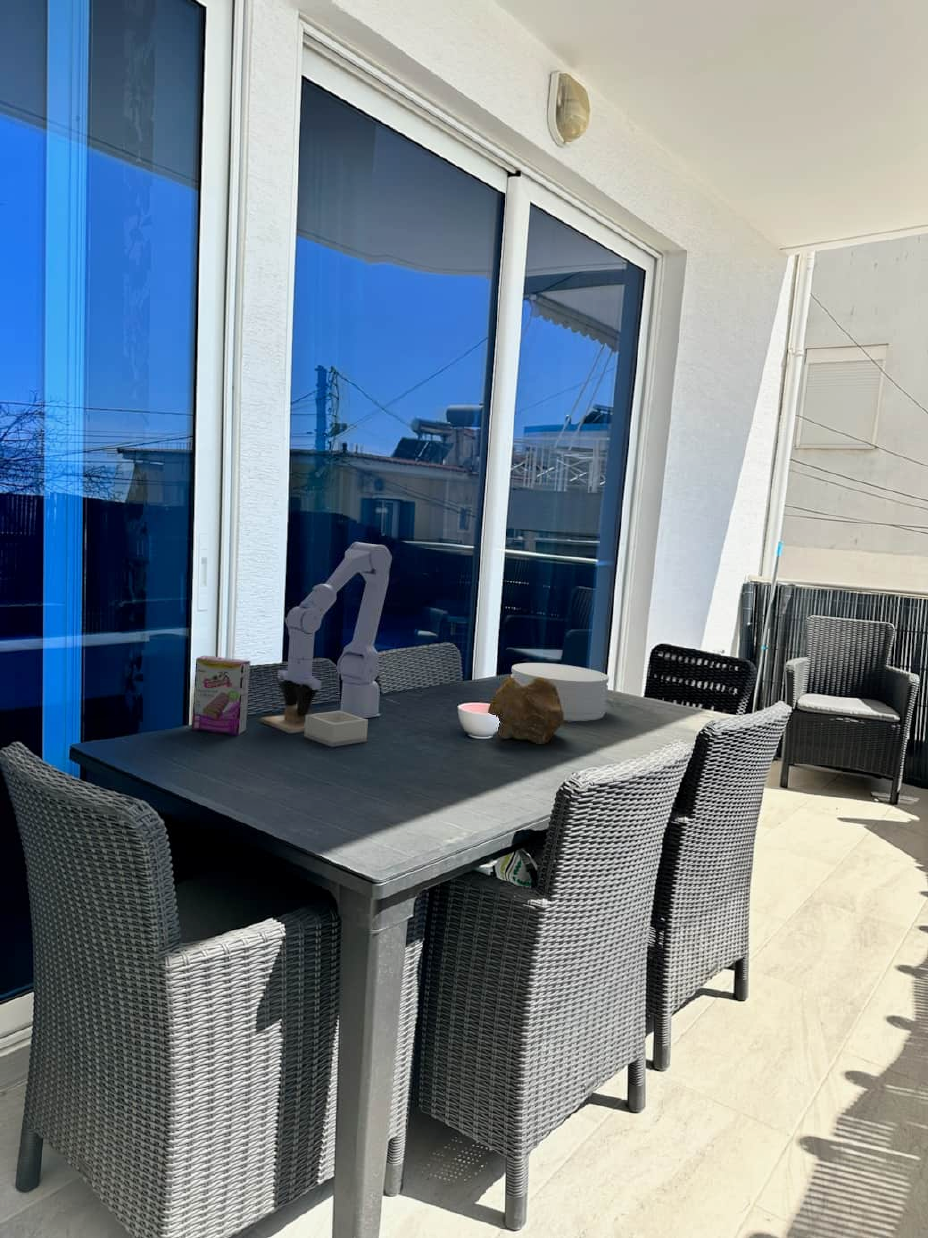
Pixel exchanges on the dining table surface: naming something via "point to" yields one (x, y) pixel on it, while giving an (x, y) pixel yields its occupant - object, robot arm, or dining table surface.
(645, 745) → the dining table surface
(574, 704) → the grey short cylinder
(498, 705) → the rough brown rock
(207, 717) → the candy bar box
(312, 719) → the dish
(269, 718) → the lid
